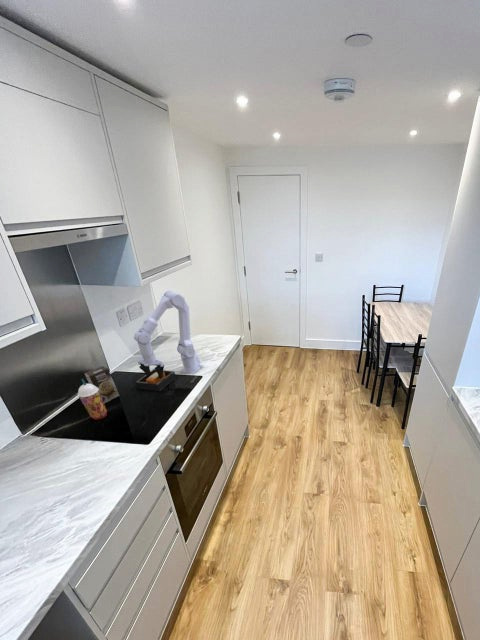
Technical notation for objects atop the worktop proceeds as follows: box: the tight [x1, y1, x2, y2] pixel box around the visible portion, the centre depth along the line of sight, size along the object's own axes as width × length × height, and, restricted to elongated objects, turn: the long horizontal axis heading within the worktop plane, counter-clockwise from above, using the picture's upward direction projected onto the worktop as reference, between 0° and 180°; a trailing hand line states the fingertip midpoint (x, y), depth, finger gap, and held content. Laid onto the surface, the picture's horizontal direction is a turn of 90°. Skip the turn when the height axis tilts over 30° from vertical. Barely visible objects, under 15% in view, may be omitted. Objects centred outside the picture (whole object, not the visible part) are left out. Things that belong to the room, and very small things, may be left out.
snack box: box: [146, 372, 166, 384], centre depth 174 cm, size 10×4×4 cm, turn 164°
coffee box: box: [84, 365, 120, 405], centre depth 160 cm, size 9×6×16 cm
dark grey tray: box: [135, 369, 177, 392], centre depth 174 cm, size 15×14×4 cm
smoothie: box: [77, 378, 108, 421], centre depth 146 cm, size 8×8×20 cm
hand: (155, 377), depth 173 cm, fingers open, 7 cm apart
